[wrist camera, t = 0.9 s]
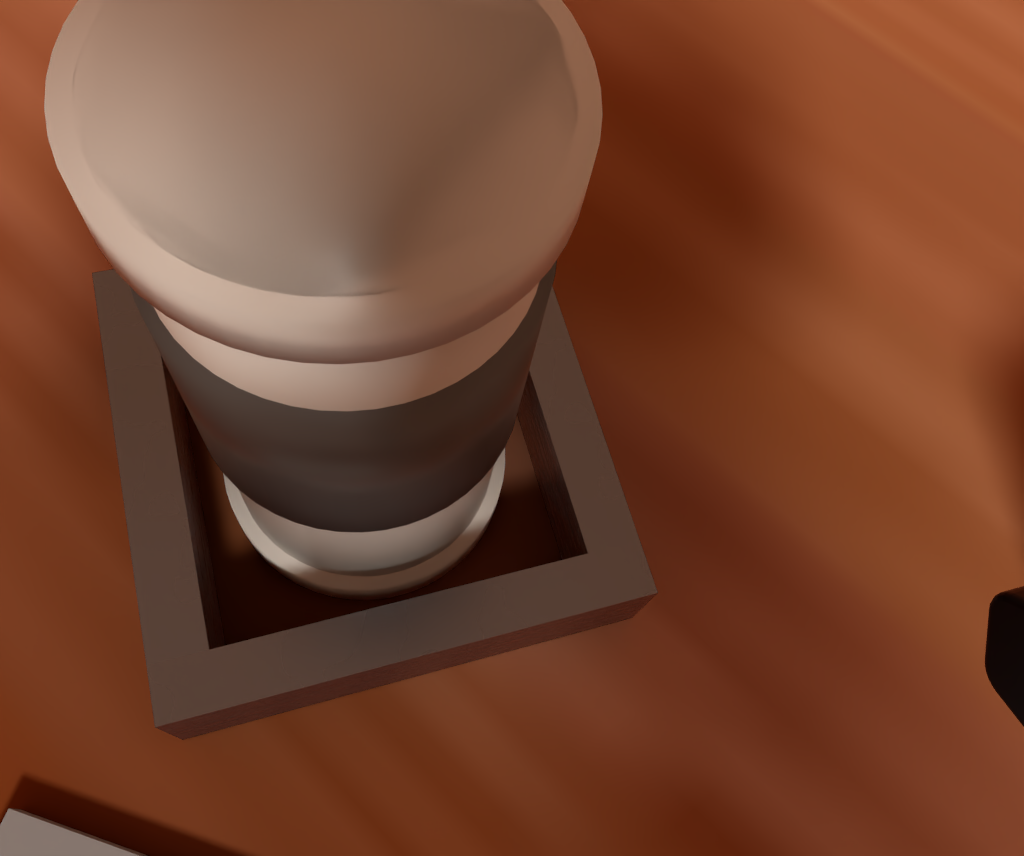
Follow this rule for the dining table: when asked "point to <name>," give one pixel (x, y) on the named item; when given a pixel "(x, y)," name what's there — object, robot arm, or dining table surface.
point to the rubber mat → (51, 838)
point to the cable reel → (336, 247)
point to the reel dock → (373, 632)
